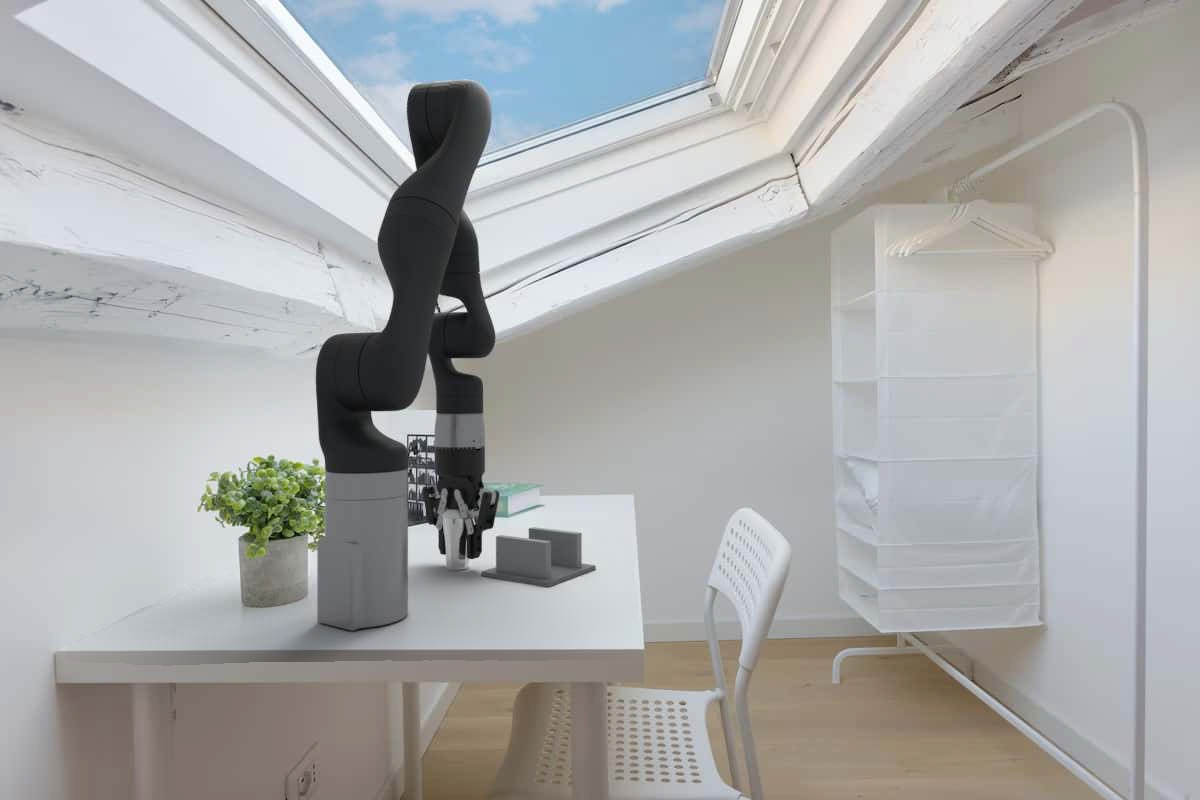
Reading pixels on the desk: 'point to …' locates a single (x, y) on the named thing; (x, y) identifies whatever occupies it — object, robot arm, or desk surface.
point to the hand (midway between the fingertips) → (460, 555)
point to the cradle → (539, 557)
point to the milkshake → (455, 539)
